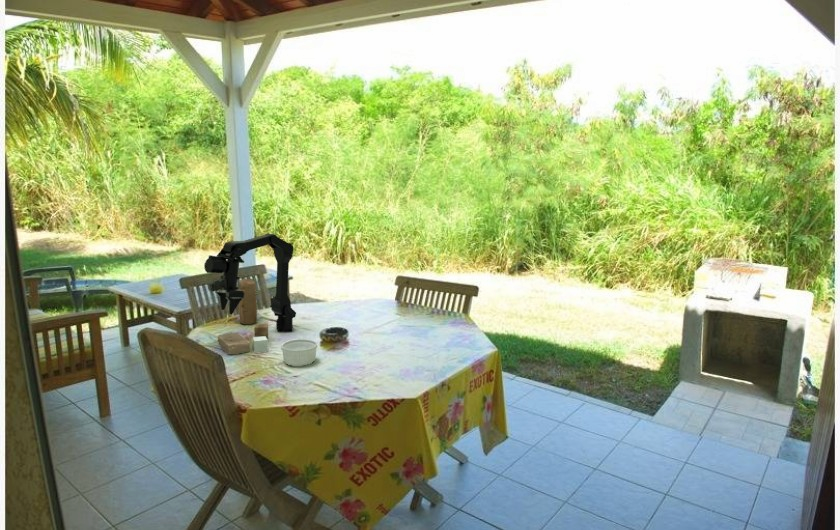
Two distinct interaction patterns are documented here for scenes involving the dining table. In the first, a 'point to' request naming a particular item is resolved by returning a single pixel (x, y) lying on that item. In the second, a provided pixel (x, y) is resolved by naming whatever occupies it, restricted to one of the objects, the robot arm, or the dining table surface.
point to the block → (248, 302)
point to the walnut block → (261, 330)
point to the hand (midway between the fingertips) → (226, 311)
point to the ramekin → (299, 351)
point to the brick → (233, 343)
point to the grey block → (260, 344)
